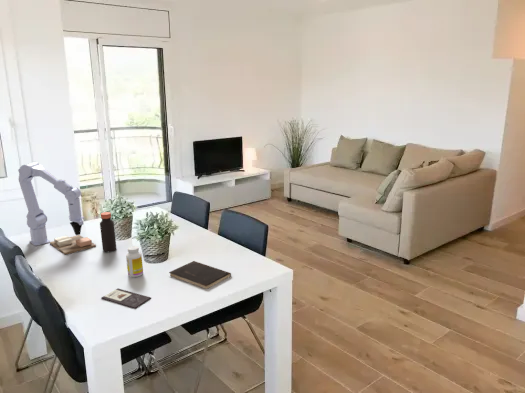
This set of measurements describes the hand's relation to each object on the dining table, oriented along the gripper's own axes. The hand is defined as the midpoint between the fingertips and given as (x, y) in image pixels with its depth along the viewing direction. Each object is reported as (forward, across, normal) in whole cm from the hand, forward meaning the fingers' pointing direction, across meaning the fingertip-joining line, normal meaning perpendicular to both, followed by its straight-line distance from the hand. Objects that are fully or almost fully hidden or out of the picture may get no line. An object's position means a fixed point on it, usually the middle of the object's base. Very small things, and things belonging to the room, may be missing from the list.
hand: (77, 234), depth 233 cm
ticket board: (+5, -1, +4) cm, 6 cm away
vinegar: (+5, -22, -8) cm, 23 cm away
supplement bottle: (+5, -59, -2) cm, 59 cm away
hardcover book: (+5, -81, -22) cm, 84 cm away
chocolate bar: (+5, -77, +11) cm, 78 cm away
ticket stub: (+4, -7, 0) cm, 8 cm away
